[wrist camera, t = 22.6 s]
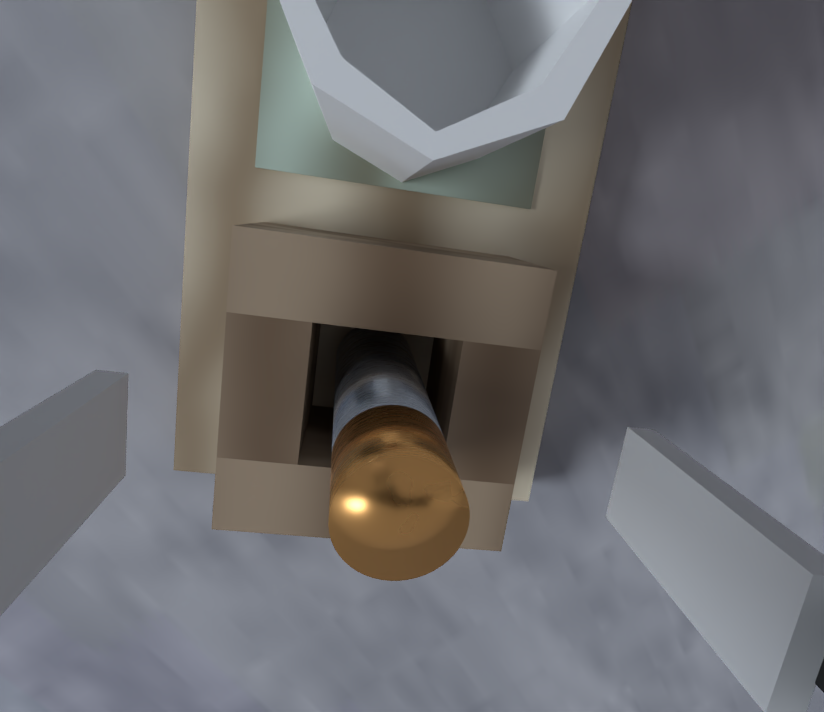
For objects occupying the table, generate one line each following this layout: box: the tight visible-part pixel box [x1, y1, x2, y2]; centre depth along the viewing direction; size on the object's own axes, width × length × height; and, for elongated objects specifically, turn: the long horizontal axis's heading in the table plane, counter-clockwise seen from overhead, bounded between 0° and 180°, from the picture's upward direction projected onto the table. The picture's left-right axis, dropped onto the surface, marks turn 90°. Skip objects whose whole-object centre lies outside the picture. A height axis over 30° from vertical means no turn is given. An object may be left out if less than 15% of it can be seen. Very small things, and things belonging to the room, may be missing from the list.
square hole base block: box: [174, 0, 632, 551], centre depth 21 cm, size 16×26×8 cm, turn 172°
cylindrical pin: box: [328, 328, 470, 581], centre depth 19 cm, size 3×3×12 cm
